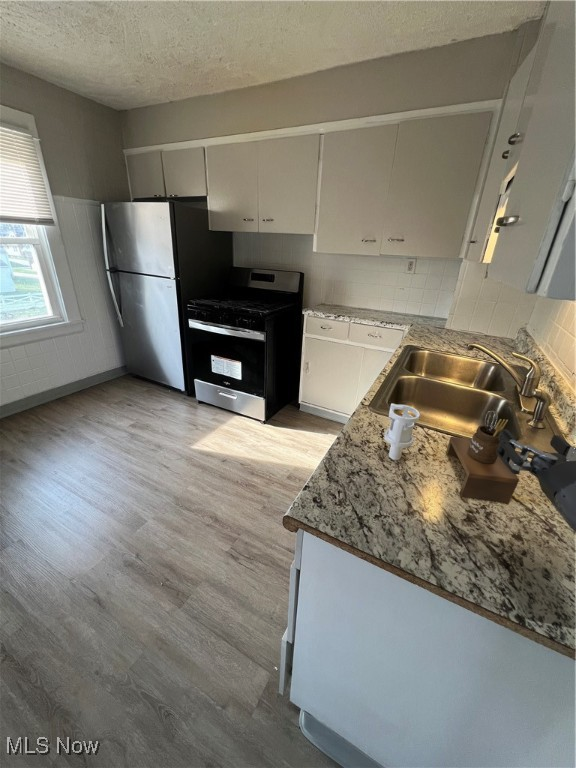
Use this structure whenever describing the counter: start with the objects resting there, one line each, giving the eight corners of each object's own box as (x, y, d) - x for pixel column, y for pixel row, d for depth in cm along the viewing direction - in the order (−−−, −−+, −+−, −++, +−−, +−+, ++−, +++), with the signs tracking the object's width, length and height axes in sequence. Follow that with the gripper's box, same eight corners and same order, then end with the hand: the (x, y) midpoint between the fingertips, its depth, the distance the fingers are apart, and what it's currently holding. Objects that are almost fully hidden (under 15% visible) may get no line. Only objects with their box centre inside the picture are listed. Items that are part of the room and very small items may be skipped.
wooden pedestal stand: (484, 463, 82) (492, 441, 79) (508, 503, 70) (519, 479, 67) (443, 458, 83) (450, 436, 80) (460, 497, 71) (469, 472, 68)
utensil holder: (489, 449, 76) (506, 406, 71) (501, 466, 70) (519, 421, 65) (463, 446, 77) (478, 403, 71) (472, 463, 71) (489, 417, 66)
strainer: (384, 445, 88) (393, 398, 81) (410, 453, 85) (422, 405, 78) (378, 459, 82) (388, 409, 76) (406, 468, 79) (418, 417, 73)
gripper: (661, 489, 41) (579, 423, 55) (541, 473, 43) (493, 414, 57) (632, 529, 44) (562, 457, 59) (522, 513, 46) (480, 447, 61)
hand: (528, 436), depth 58 cm, fingers open, 8 cm apart
